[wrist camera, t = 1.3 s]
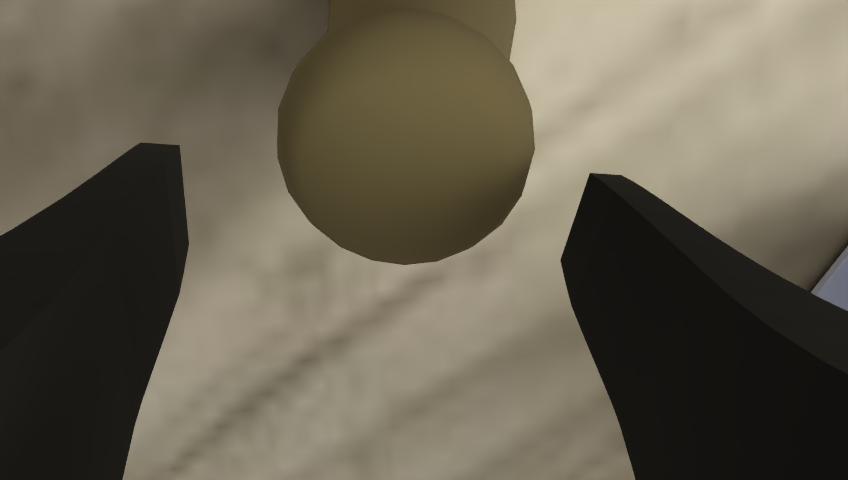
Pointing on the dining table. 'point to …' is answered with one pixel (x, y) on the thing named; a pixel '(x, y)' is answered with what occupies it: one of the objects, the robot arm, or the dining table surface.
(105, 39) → the dining table surface
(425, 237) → the cork
